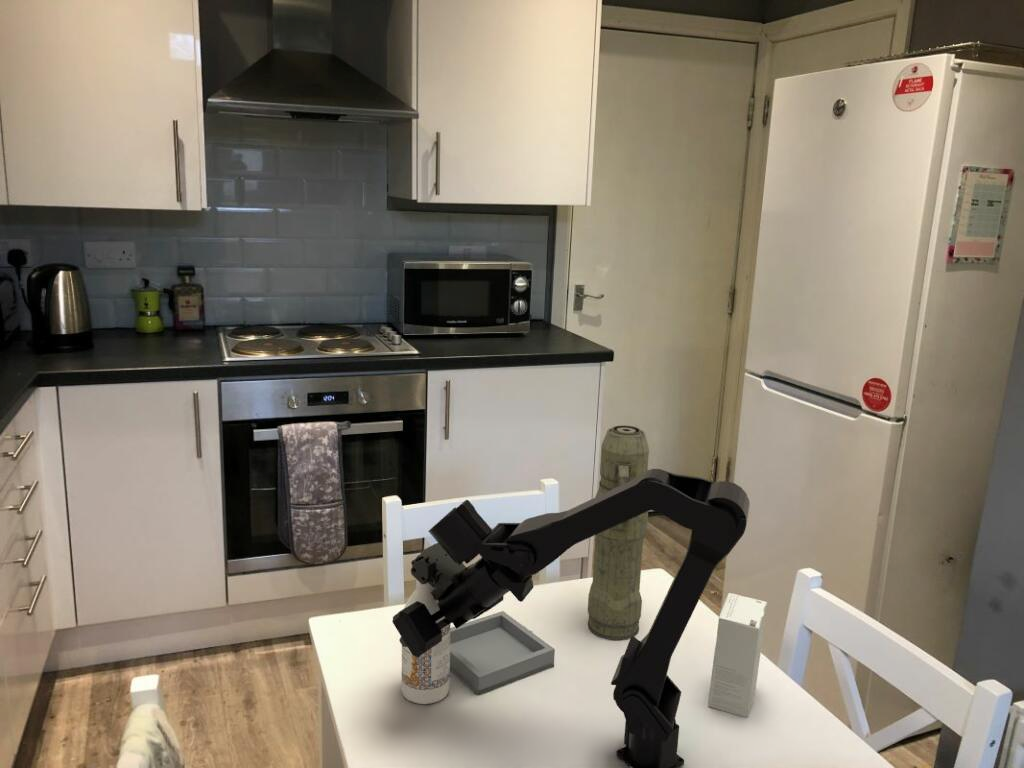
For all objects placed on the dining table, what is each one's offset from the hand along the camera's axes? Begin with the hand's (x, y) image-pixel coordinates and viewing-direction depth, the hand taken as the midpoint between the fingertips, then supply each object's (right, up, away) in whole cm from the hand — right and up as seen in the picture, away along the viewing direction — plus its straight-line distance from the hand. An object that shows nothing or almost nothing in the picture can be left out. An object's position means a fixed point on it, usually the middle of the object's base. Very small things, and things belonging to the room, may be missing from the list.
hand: (418, 632), depth 121 cm
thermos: (+31, -6, +21) cm, 38 cm away
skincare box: (+46, -11, +2) cm, 47 cm away
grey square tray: (+10, -7, +10) cm, 16 cm away
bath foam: (+1, -9, +1) cm, 9 cm away
